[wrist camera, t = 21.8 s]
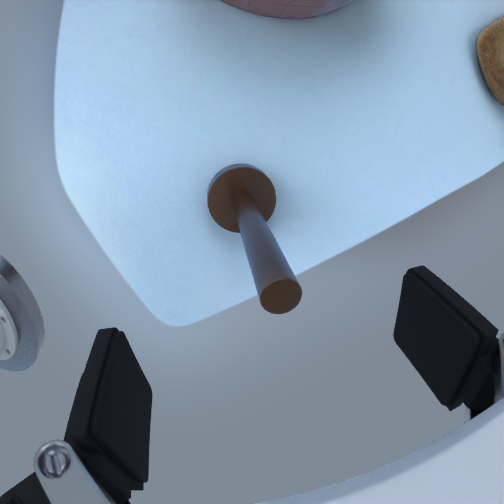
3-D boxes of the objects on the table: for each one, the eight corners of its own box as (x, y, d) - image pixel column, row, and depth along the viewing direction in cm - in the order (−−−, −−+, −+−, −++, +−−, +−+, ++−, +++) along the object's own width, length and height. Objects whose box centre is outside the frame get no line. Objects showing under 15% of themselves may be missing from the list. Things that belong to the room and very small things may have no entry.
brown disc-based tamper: (213, 231, 25) (225, 359, 12) (202, 169, 23) (196, 246, 10) (275, 219, 26) (344, 332, 13) (267, 158, 23) (347, 219, 10)
